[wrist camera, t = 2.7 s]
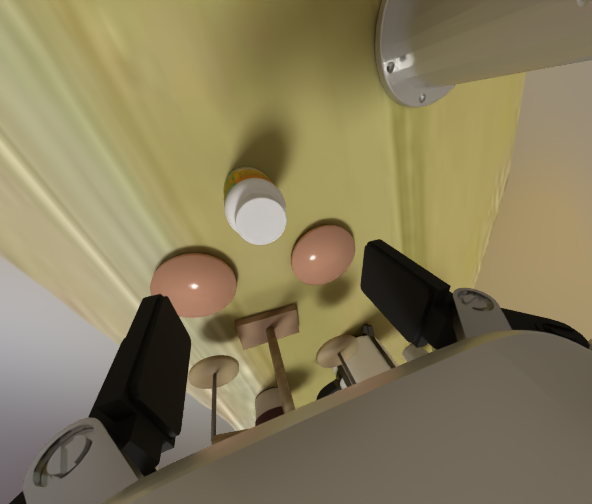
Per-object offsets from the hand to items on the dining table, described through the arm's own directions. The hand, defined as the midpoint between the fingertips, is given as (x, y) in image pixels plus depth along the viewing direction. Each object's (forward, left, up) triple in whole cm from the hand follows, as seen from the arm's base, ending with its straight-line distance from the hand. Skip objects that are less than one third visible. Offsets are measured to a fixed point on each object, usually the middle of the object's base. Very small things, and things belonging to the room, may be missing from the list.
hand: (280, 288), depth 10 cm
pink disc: (+11, +9, -17) cm, 22 cm away
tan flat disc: (+11, -9, -17) cm, 22 cm away
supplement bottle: (0, 0, -18) cm, 18 cm away
